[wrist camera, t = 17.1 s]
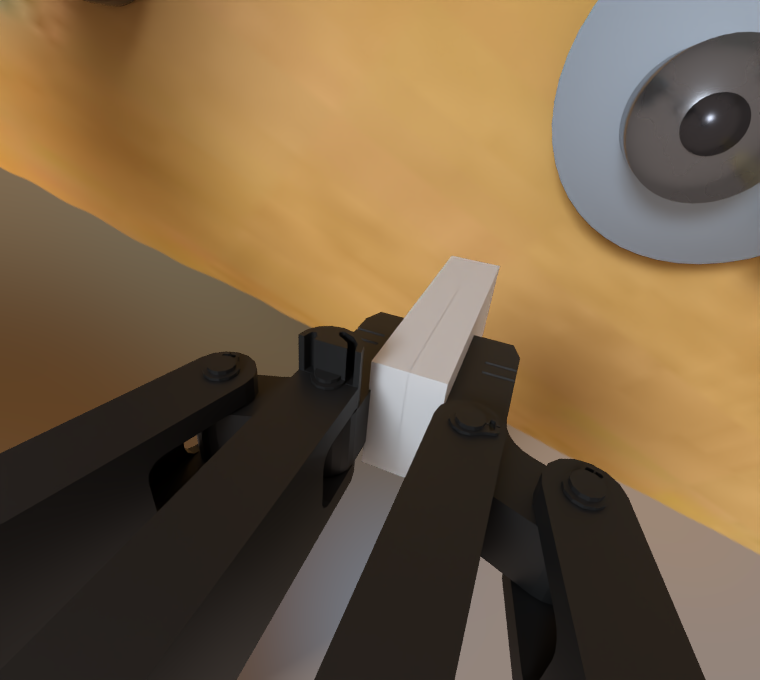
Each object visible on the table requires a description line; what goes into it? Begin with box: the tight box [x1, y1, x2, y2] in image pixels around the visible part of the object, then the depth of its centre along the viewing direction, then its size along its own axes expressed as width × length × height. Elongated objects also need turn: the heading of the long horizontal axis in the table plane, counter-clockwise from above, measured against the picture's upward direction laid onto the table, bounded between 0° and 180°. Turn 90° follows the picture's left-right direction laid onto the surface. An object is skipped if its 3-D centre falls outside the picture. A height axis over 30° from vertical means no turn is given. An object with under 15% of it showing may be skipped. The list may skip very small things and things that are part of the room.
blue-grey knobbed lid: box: [552, 0, 760, 264], centre depth 24 cm, size 20×20×10 cm
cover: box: [619, 32, 760, 204], centre depth 25 cm, size 8×8×5 cm
